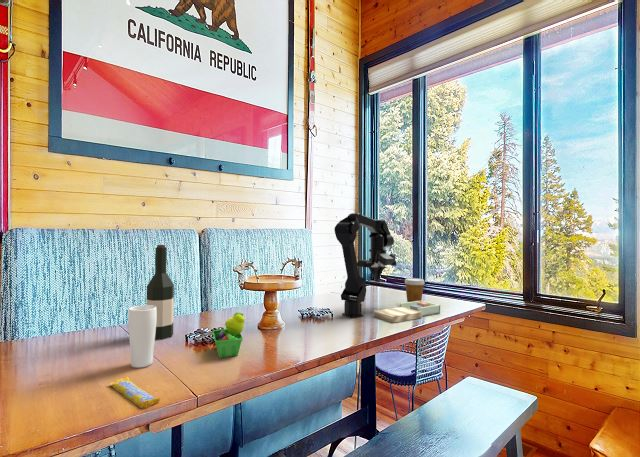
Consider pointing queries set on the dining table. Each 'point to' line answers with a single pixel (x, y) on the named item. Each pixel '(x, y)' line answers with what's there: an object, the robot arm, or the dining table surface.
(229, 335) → the fruit basket
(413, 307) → the slate tile
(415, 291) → the disposable coffee cup
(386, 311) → the board
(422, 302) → the terracotta tile
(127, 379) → the candy bar
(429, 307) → the tray
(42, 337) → the dining table surface
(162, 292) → the wine bottle
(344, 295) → the robot arm
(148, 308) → the drinking glass
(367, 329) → the dining table surface
